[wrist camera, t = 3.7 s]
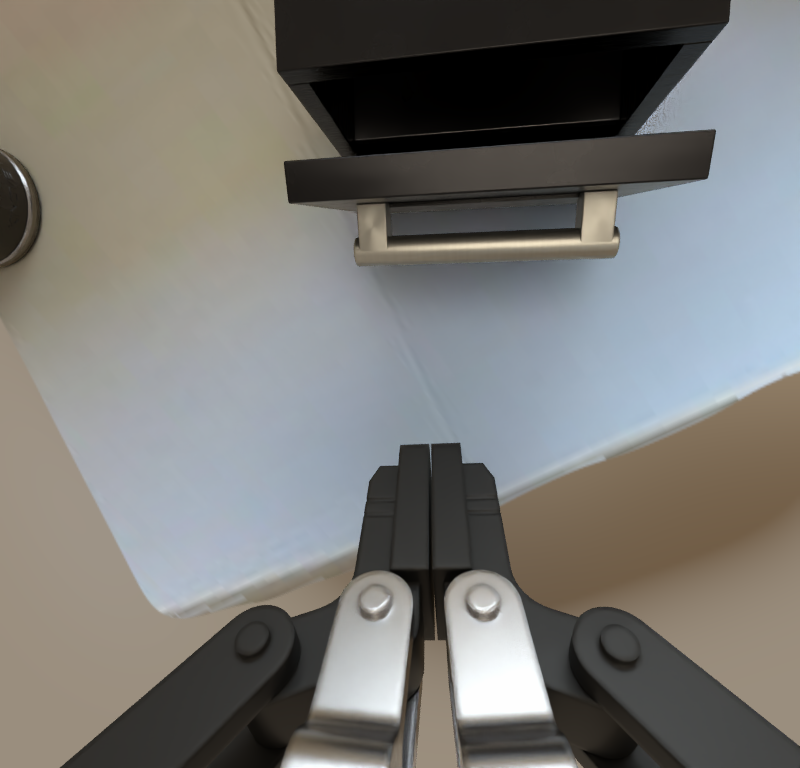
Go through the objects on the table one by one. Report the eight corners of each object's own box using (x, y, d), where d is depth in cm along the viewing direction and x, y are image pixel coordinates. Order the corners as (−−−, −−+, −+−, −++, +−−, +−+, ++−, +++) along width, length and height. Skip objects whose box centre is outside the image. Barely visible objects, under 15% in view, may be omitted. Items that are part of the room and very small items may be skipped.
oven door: (599, 247, 30) (694, 262, 17) (366, 255, 32) (296, 274, 19) (606, 173, 28) (717, 128, 15) (362, 188, 31) (283, 161, 18)
